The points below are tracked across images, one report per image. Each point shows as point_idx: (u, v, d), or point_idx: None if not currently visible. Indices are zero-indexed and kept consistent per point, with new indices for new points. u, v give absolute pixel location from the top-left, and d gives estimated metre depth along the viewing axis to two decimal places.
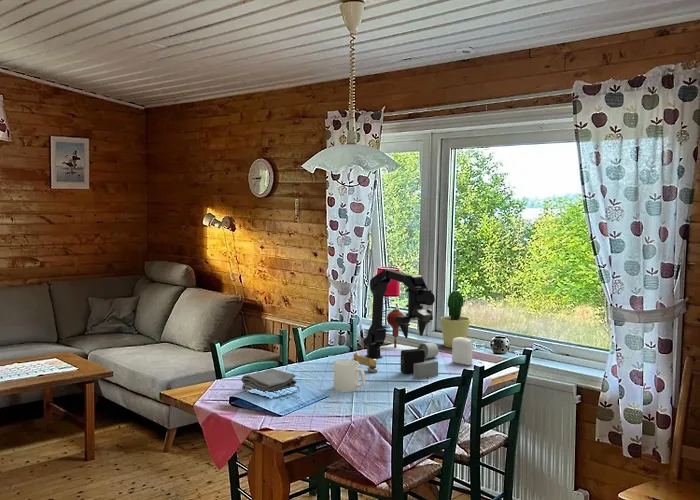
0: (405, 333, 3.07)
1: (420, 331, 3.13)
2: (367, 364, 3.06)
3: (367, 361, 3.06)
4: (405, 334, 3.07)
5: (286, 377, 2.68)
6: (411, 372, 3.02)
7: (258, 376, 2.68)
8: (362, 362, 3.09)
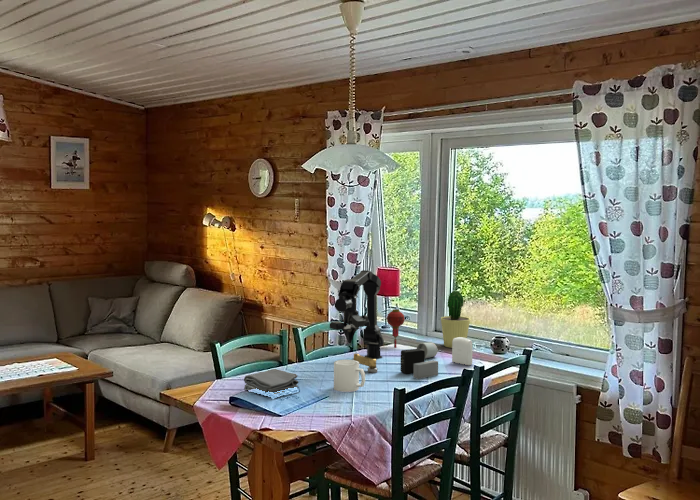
0: (348, 338, 3.06)
1: None
2: (367, 364, 3.06)
3: (367, 361, 3.06)
4: (348, 339, 3.06)
5: (288, 377, 2.68)
6: (411, 372, 3.02)
7: (260, 376, 2.68)
8: (362, 362, 3.09)
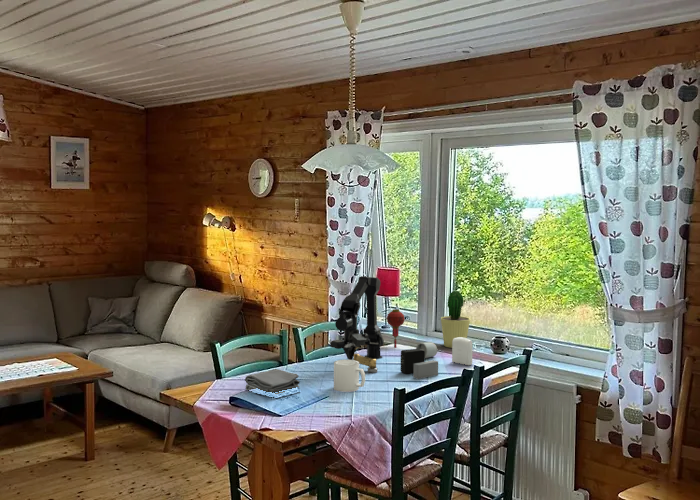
0: (348, 356, 3.07)
1: None
2: (367, 364, 3.06)
3: (367, 361, 3.06)
4: (348, 357, 3.07)
5: (289, 377, 2.68)
6: (411, 372, 3.02)
7: (261, 376, 2.68)
8: (362, 362, 3.09)
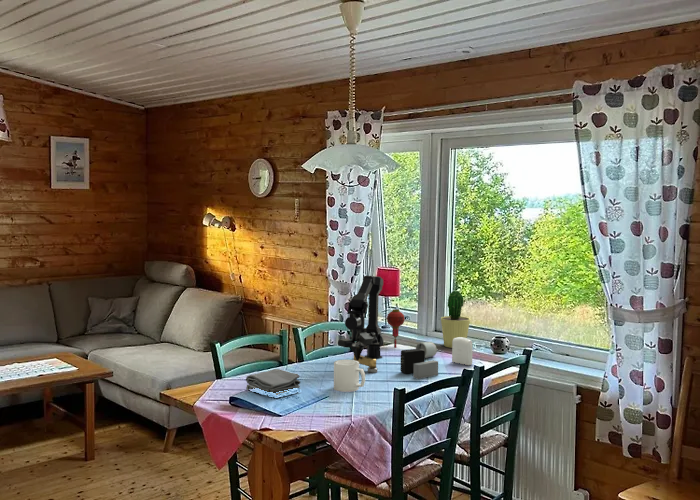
0: (356, 355, 3.09)
1: None
2: (367, 364, 3.06)
3: (367, 361, 3.06)
4: (356, 356, 3.10)
5: (290, 377, 2.68)
6: (411, 372, 3.02)
7: (262, 376, 2.68)
8: (362, 362, 3.09)
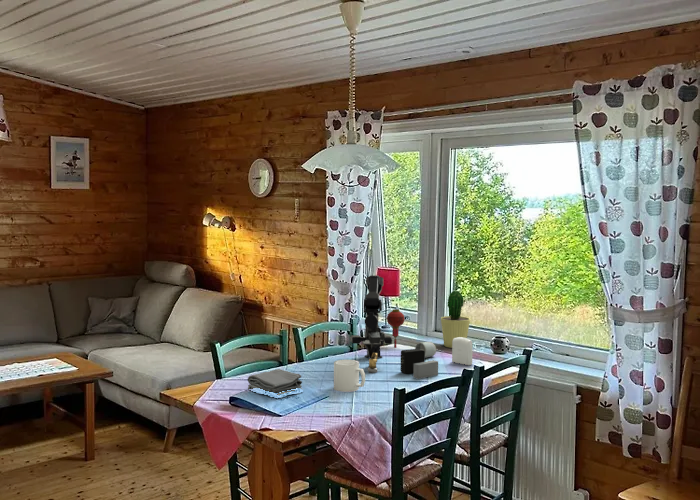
0: (368, 353, 3.12)
1: None
2: None
3: None
4: (369, 354, 3.13)
5: (292, 377, 2.68)
6: (411, 372, 3.02)
7: (264, 376, 2.68)
8: None
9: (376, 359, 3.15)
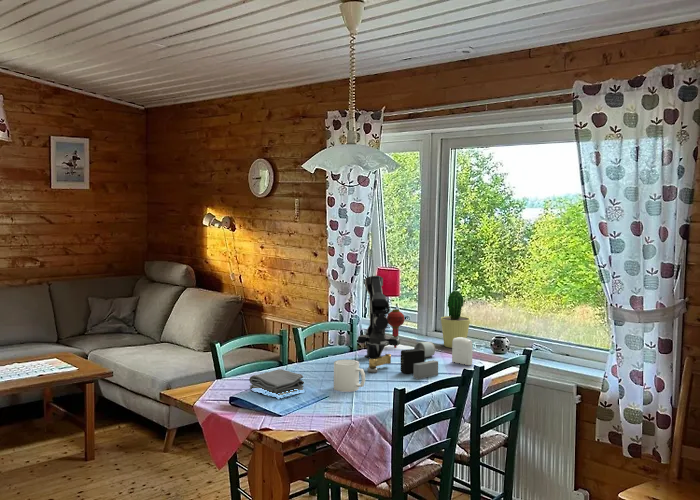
0: None
1: None
2: None
3: None
4: None
5: (294, 377, 2.68)
6: (411, 372, 3.02)
7: (266, 376, 2.68)
8: None
9: (388, 361, 3.12)
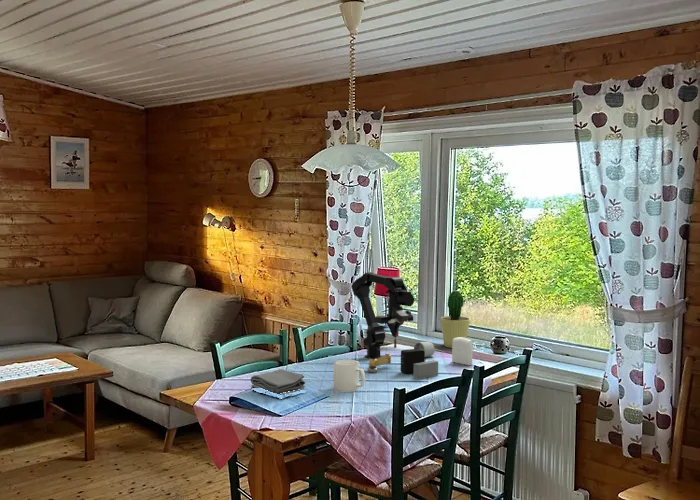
0: (392, 332, 3.21)
1: None
2: None
3: None
4: (392, 333, 3.21)
5: (295, 378, 2.68)
6: (411, 372, 3.02)
7: (267, 376, 2.68)
8: None
9: (388, 361, 3.12)
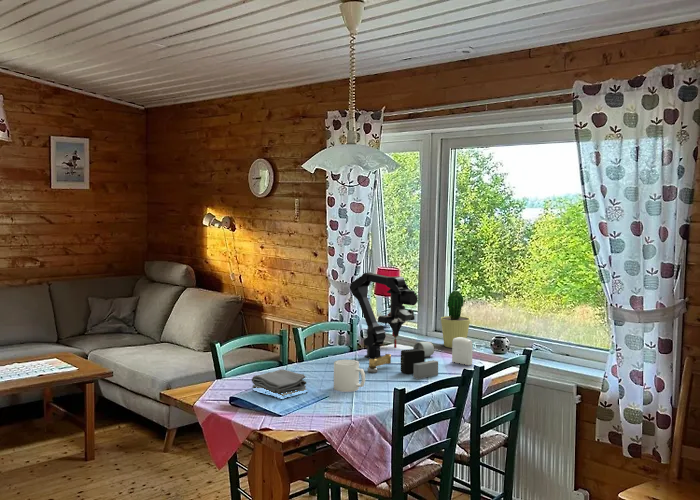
0: (395, 331, 3.22)
1: None
2: None
3: None
4: (395, 332, 3.22)
5: (296, 378, 2.68)
6: (411, 372, 3.02)
7: (268, 377, 2.68)
8: None
9: (388, 361, 3.12)
